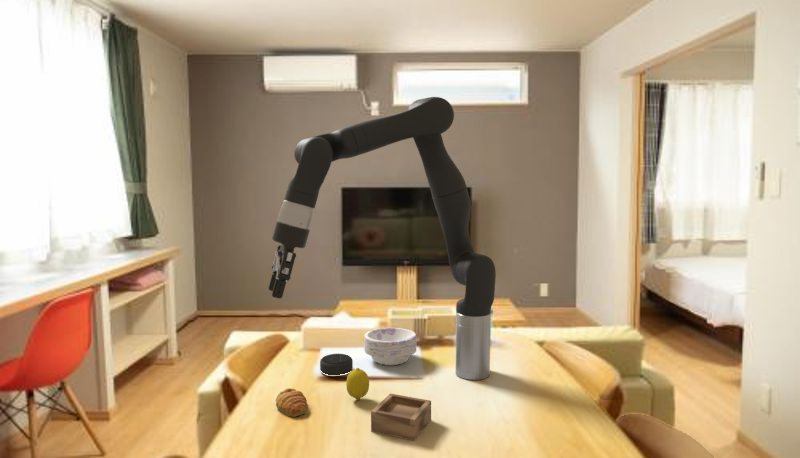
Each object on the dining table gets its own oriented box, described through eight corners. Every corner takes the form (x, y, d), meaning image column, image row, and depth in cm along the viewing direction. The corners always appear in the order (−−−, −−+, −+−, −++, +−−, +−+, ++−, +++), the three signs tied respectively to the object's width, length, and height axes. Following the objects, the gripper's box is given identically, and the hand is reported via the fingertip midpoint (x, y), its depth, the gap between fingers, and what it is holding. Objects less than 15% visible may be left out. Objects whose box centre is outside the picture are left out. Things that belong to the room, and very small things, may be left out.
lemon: (366, 405, 131) (365, 373, 130) (343, 403, 132) (343, 371, 131) (371, 396, 136) (371, 364, 135) (350, 394, 137) (349, 363, 136)
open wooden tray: (390, 412, 127) (390, 393, 127) (431, 420, 123) (431, 400, 123) (371, 431, 118) (370, 411, 118) (414, 440, 114) (414, 419, 114)
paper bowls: (392, 348, 172) (392, 323, 171) (427, 360, 161) (427, 334, 160) (353, 359, 161) (353, 333, 160) (388, 374, 150) (387, 346, 149)
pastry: (314, 414, 127) (314, 398, 126) (286, 421, 123) (286, 405, 123) (299, 399, 135) (299, 384, 134) (272, 406, 131) (272, 390, 131)
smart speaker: (314, 371, 152) (313, 357, 152) (340, 364, 158) (339, 350, 158) (332, 381, 146) (332, 366, 145) (359, 372, 152) (359, 358, 151)
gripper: (315, 230, 118) (295, 304, 117) (305, 226, 131) (287, 292, 131) (280, 221, 115) (260, 296, 115) (274, 218, 129) (255, 285, 129)
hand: (274, 294), depth 123 cm, fingers open, 8 cm apart
